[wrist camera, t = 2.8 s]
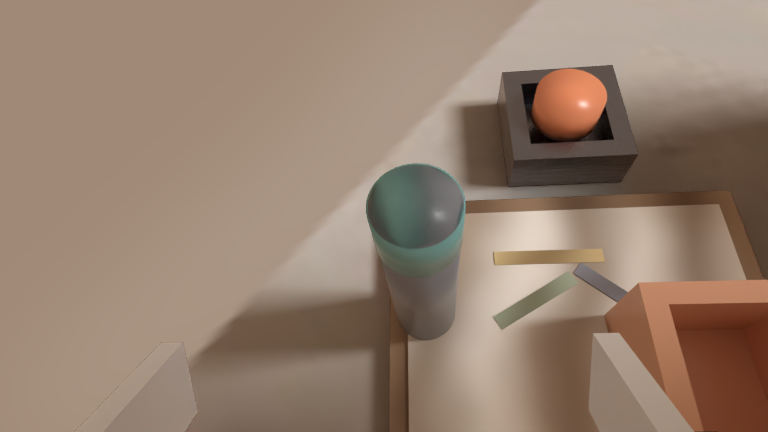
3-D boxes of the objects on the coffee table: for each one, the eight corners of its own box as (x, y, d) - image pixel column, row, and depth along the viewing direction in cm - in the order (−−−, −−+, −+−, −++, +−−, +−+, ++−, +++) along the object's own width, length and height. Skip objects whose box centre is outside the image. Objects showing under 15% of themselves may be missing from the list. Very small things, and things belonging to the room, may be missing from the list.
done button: (590, 89, 31) (599, 66, 29) (603, 139, 29) (613, 118, 27) (527, 93, 31) (532, 71, 29) (535, 143, 29) (541, 122, 27)
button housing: (599, 97, 33) (612, 65, 31) (621, 181, 30) (638, 154, 27) (497, 103, 34) (502, 72, 31) (508, 186, 31) (514, 160, 28)
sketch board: (721, 198, 29) (732, 187, 28) (834, 507, 21) (856, 509, 20) (392, 211, 31) (390, 201, 30) (390, 498, 23) (388, 499, 22)
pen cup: (750, 312, 24) (817, 278, 20) (806, 471, 21) (902, 472, 17) (604, 315, 25) (638, 282, 21) (636, 469, 22) (685, 469, 17)
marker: (454, 282, 27) (462, 161, 16) (457, 340, 25) (468, 249, 15) (396, 283, 27) (367, 165, 17) (396, 341, 26) (364, 252, 15)
